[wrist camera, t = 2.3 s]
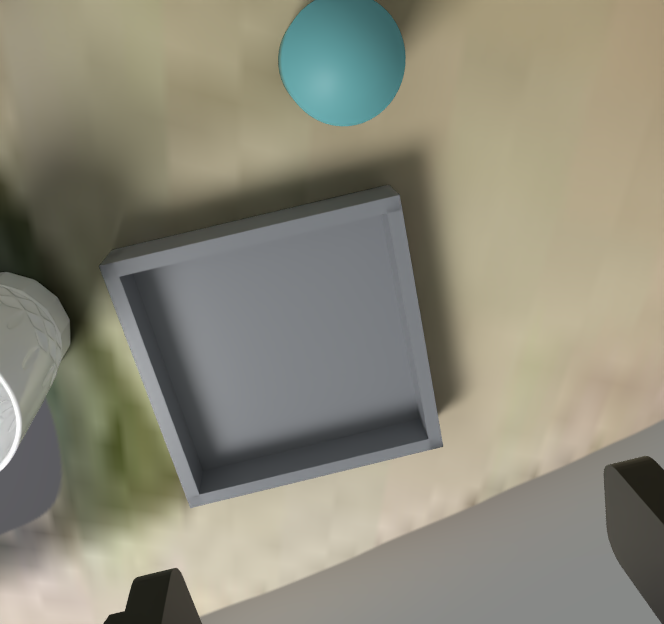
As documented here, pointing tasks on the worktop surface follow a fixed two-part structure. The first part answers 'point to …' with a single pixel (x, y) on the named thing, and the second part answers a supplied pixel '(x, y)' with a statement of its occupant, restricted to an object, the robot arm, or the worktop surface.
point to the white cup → (27, 354)
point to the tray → (280, 344)
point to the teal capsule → (342, 60)
